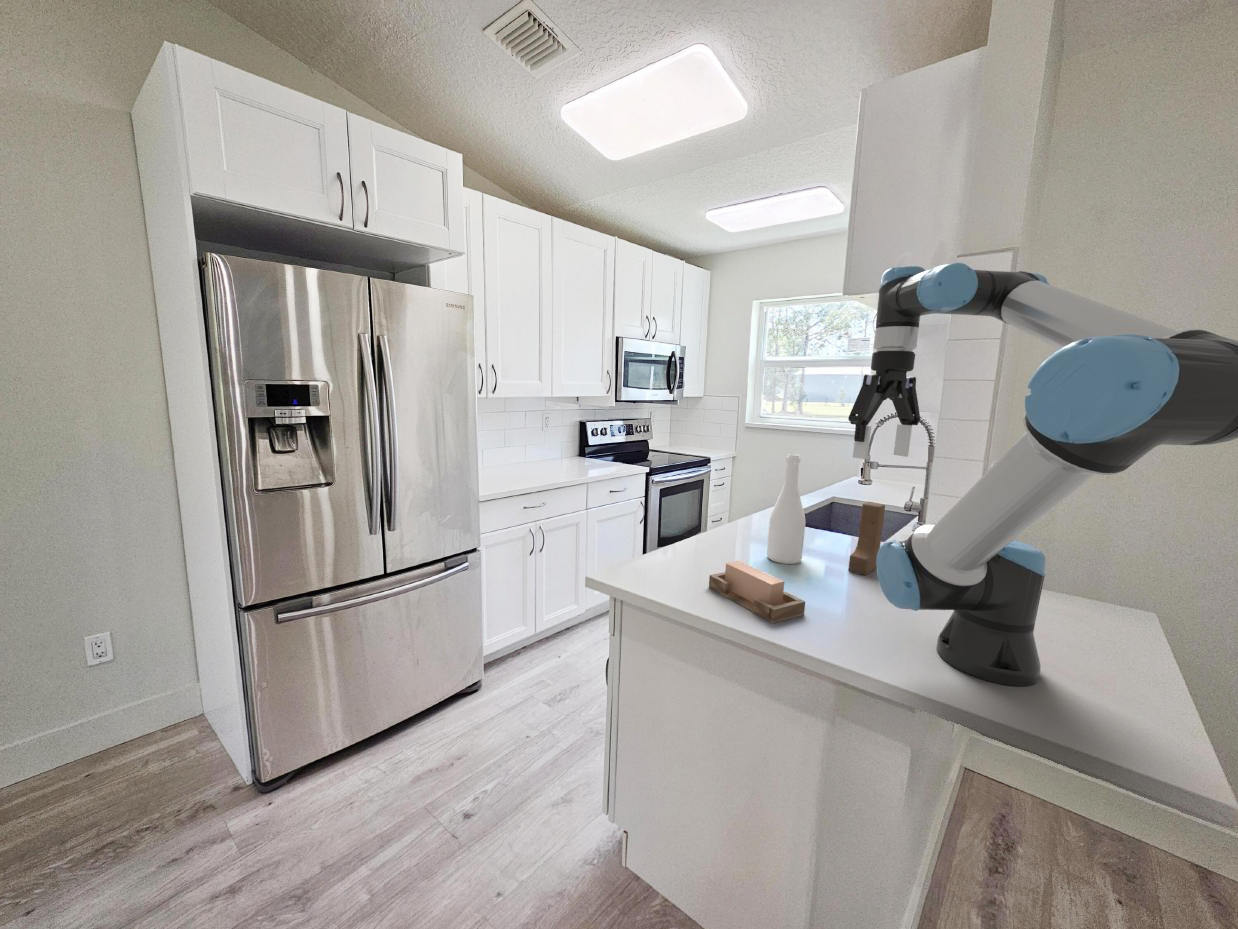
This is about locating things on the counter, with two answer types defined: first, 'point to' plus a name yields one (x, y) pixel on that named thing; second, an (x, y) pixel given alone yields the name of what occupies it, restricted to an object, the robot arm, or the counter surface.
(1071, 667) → the counter surface
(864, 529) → the wooden block
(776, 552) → the wine bottle
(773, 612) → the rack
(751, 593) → the peach rectangular block
